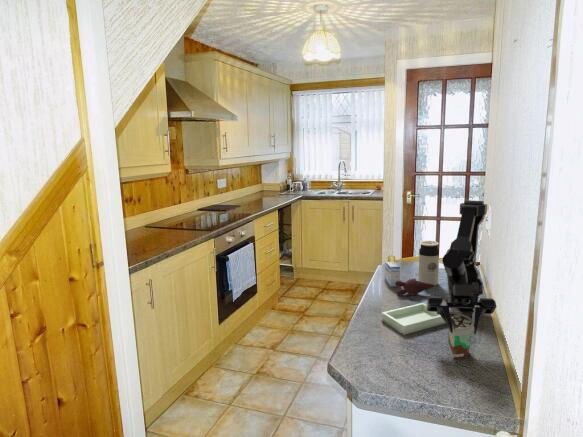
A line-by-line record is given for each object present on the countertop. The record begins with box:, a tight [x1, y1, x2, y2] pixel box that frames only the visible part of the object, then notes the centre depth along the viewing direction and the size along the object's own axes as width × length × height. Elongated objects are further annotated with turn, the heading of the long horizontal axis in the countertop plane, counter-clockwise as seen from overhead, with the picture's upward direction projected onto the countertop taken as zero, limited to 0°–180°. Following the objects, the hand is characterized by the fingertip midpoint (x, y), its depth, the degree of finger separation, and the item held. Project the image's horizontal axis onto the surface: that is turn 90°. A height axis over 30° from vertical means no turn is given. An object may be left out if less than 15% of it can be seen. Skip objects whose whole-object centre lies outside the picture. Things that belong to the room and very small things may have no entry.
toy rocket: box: [395, 277, 435, 296], centre depth 168 cm, size 7×7×15 cm
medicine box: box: [384, 261, 401, 287], centre depth 182 cm, size 8×4×9 cm, turn 5°
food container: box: [447, 311, 474, 360], centre depth 123 cm, size 12×6×10 cm, turn 168°
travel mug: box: [418, 240, 440, 287], centre depth 179 cm, size 8×8×18 cm
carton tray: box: [381, 302, 446, 335], centre depth 144 cm, size 18×12×3 cm, turn 114°
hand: (463, 333), depth 121 cm, fingers closed on food container, 6 cm apart
